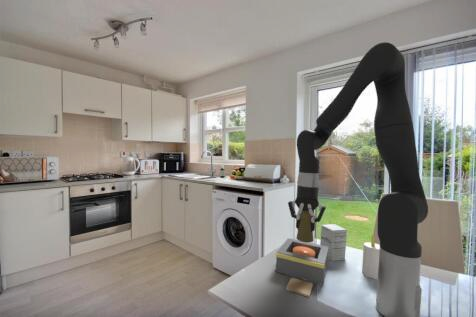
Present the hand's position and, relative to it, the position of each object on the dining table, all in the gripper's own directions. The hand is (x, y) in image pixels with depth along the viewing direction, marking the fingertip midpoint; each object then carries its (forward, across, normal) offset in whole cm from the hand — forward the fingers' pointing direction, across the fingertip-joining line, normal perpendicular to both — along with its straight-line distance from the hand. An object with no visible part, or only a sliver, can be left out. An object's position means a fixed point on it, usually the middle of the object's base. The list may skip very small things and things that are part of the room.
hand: (305, 230), depth 85 cm
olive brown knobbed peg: (+3, 0, 0) cm, 3 cm away
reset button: (+11, 0, 0) cm, 11 cm away
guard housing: (+14, 0, 0) cm, 14 cm away
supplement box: (+14, -9, -17) cm, 24 cm away
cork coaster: (+14, -2, +14) cm, 20 cm away
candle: (+14, -23, -9) cm, 28 cm away
